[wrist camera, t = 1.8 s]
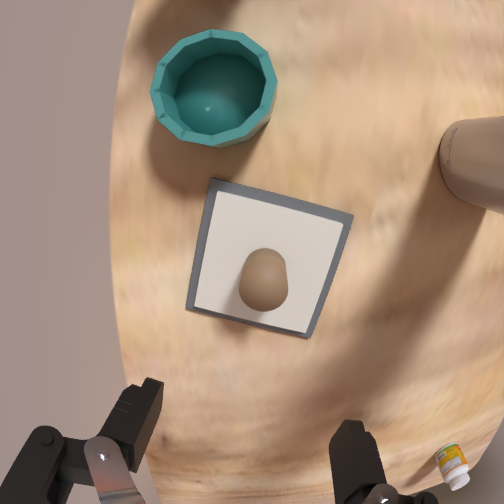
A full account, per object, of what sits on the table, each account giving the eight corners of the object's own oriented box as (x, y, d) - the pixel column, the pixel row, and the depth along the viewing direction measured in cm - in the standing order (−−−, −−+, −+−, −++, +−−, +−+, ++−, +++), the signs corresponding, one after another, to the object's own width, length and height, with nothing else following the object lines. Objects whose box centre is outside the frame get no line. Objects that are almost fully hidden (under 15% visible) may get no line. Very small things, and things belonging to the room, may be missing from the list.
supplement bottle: (455, 450, 40) (470, 483, 31) (433, 461, 41) (446, 495, 32) (459, 437, 39) (475, 472, 29) (435, 449, 39) (450, 486, 30)
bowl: (285, 60, 24) (287, 41, 19) (260, 156, 27) (258, 156, 22) (185, 44, 24) (169, 26, 19) (160, 136, 27) (139, 133, 22)
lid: (341, 222, 28) (357, 238, 23) (304, 328, 32) (310, 361, 26) (218, 190, 28) (205, 198, 22) (195, 302, 32) (181, 331, 26)
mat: (352, 214, 28) (353, 215, 28) (310, 335, 33) (310, 338, 32) (211, 177, 28) (210, 178, 28) (186, 305, 32) (185, 308, 32)
